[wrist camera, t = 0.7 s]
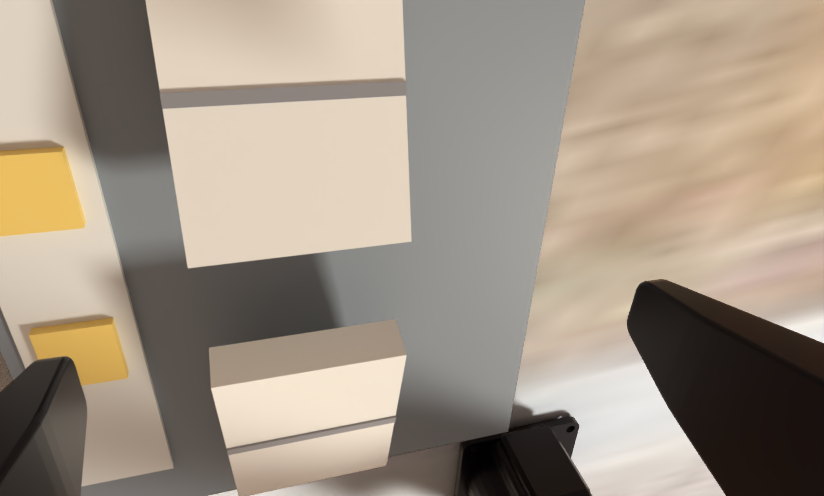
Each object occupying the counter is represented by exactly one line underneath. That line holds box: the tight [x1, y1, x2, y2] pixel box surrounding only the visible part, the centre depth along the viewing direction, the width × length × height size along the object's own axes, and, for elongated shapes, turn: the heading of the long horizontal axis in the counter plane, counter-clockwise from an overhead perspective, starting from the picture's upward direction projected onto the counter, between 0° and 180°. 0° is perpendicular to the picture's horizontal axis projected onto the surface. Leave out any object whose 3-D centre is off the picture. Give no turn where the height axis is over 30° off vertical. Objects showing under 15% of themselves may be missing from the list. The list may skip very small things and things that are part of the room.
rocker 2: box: [209, 319, 407, 496], centre depth 18 cm, size 7×5×1 cm
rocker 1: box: [145, 0, 412, 268], centre depth 13 cm, size 7×5×1 cm
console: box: [0, 0, 585, 496], centre depth 18 cm, size 22×16×5 cm
